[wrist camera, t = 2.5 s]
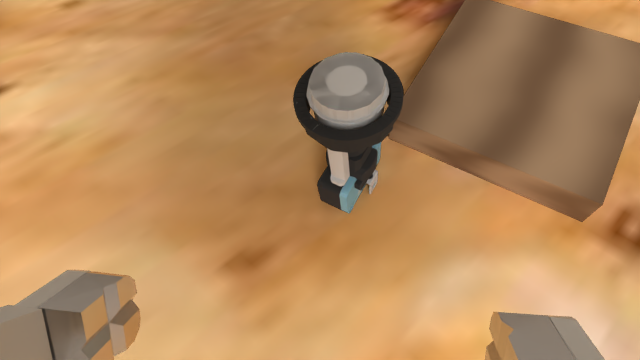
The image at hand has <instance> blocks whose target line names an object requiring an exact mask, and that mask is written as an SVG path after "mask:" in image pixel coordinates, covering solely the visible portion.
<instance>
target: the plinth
mask: <svg viewBox="0 0 640 360" xmlns="http://www.w3.org/2000/svg"><path fill="white" fill-rule="evenodd" d="M639 100H640V43H637V42H634V41H630V40H627V39H623V38H620V37H616V36H613V35H609V34H606V33H602V32H599V31H596V30H592V29H589V28H585V27H582V26H578V25H575V24H571V23H568V22H564V21H561V20H557V19H554V18H550V17H547V16H543V15H540V14H536V13H533V12H529V11H526V10H522V9H519V8H515V7H512V6H508V5H505V4H501V3H498V2H494V1H491V0H465V1H464V3H463V4H462V6H461V7H460V9H459V11H458V12H457V14H456V15H455V17H454V18H453V20H452V21H451V23H450V25H449V26H448V28H447V29H446V31H445V32H444V34H443V35H442V37H441V39H440V40H439V42H438V43H437V45H436V46H435V48H434V49H433V51H432V53H431V54H430V56H429V57H428V59H427V60H426V62H425V64H424V65H423V67H422V68H421V70H420V71H419V73H418V74H417V76H416V78H415V79H414V81H413V82H412V84H411V85H410V87H409V88H408V90H407V92H406V93H405V95H404V97H403V106H402V110H401V112H400V115H399V117H398V119H397V120H396V122H395V123H394V124H393V129H392V131H391V132H390V133H389V139H392V140H394V141H396V142H399V143H401V144H403V145H405V146H408V147H410V148H412V149H415V150H417V151H419V152H422V153H424V154H426V155H429V156H431V157H433V158H436V159H438V160H440V161H442V162H445V163H447V164H449V165H452V166H454V167H456V168H459V169H461V170H463V171H466V172H468V173H470V174H473V175H475V176H477V177H480V178H482V179H484V180H486V181H489V182H491V183H493V184H496V185H498V186H500V187H503V188H505V189H507V190H510V191H512V192H514V193H517V194H519V195H521V196H523V197H526V198H528V199H530V200H533V201H535V202H537V203H540V204H542V205H544V206H547V207H549V208H551V209H554V210H556V211H558V212H561V213H563V214H565V215H567V216H570V217H572V218H574V219H577V220H579V221H581V222H583V221H584V220H585V219H586V218H587V217H589V216H590V215H591V214H592V213H593V212H595V211H596V210H597V209H598V208H599V207H600V206H602V205H603V202H604V199H605V197H606V194H607V191H608V188H609V185H610V182H611V180H612V177H613V174H614V171H615V168H616V165H617V163H618V160H619V157H620V154H621V151H622V149H623V146H624V143H625V140H626V137H627V134H628V132H629V129H630V126H631V123H632V120H633V117H634V115H635V112H636V109H637V106H638V103H639Z"/></svg>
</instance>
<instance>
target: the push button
mask: <svg viewBox="0 0 640 360" xmlns="http://www.w3.org/2000/svg"><path fill="white" fill-rule="evenodd" d="M403 97H404V93H403V86H402V83H401V81H400V79H399V77H398V75H397V74H396V73H395V72H394V70H393V69H392V68H391V67H389V66H388V65H387V64H385V63H384V62H382V61H380V60H378V59H376V58H373V57H370V56H366V55H364V54H359V53H348V52H345V53H339V54H336V55H333V56H330V57H327V58H325V59H324V60H322V61H320V62H318V63H316V64H315V65H313V66H312V67H310V68H309V69H308V70H307V71H306V72H305V73H304V74H303V75H302V77H301V78H300V80H299V81H298V83H297V85H296V88H295V91H294V97H293V102H294V108H295V112H296V115H297V118H298V120H299V122H300V123H301V125H302V126H303V127H304V128H305V130H306V132H307V134H308V135H309V136H310V137H312V138H313V139H315V140H316V141H318V142H319V143H321V144H322V145H323V146H325V147H326V148H327V151H326V159H327V165H328V166H327V168H326V169H325V171H324V173H323V174H322V176H321V177H320V179H319V181H318V184H317V186H318V190H319V194H320V199H321V200H322V201H324V202H326V203H328V204H330V205H332V206H334V207H336V208H338V209H341V210H343V211H345V212H347V213H350V212H351V210H352V209H353V207H354V204H355V202H356V201H357V199H358V197H359V195H360V194H361V192H362V190H363V188H364V187H365V185H366V183H367V184H369V185H370V186H369V194H371V193H372V191H373V189H374V188H375V186H376V184H377V181H378V174H377V173H378V171H377V170H375V169H376V166H377V164H378V162H379V160H380V150H381V142H382V141H383V140H384V139H385V137H386V136H387V135H388V134H389V133H390V132H391V131H392V129H393V124H394V123H395V122H396V120H397V119H398V117H399V115H400V112H401V110H402V106H403ZM386 101H387V103H388V105H389V106H388V108H387V110H386V111H385V113H384V105H385V103H386ZM310 108H311V109H312V110H313V111H314V115H315V119H314V118H313V117H312V115H311V114H310V113H309V112H310ZM373 184H374V185H373Z"/></svg>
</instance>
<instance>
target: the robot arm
mask: <svg viewBox="0 0 640 360" xmlns="http://www.w3.org/2000/svg"><path fill="white" fill-rule="evenodd" d="M136 293H137V290H136V284H135V280H134V279H133V278H132V277H130V276H127V275H118V274H110V273H101V272H91V271H84V270H67V271H65V272H64V273H62V274H61V275H59V276H58V277H56V278H55V279H53V280H52V281H50V282H49V283H47V284H46V285H44V286H43V287H41V288H40V289H38V290H37V291H35V292H34V293H32V294H31V295H29V296H28V297H26V298H25V299H23V300H22V301H20V302H19V303H17V304H16V305H14V306H12V305H7V306H4V307H0V360H114V356H115V355H117V354H119V353H121V352H123V351H125V350H127V349H128V348H129V346H130V345H131V344H132V343H133V342H134V340H135V338H136V335H137V333H138V331H139V327H140V311H139V308H138V307H137V306H136V304H135V303H134V302H133V301H132V300H133V298H134V297H135V295H136ZM489 329H490V332H491V335H492V338H493V342H491V343H490V344H489V345H488V346H487V347H486V355H485V360H605V359H604V358H603V356H602V355H601V354H600V352H599V351H598V350H597V348H596V347H595V345H594V344H593V343H592V341H591V340H590V338H589V337H588V336H587V334H586V333H585V331H584V330H583V329H582V327H581V326H580V324H579V323H578V322H577V320H576V319H574V318H572V317H564V316H548V315H531V314H517V313H504V312H493V315H492V317H491V322H490V328H489Z"/></svg>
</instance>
